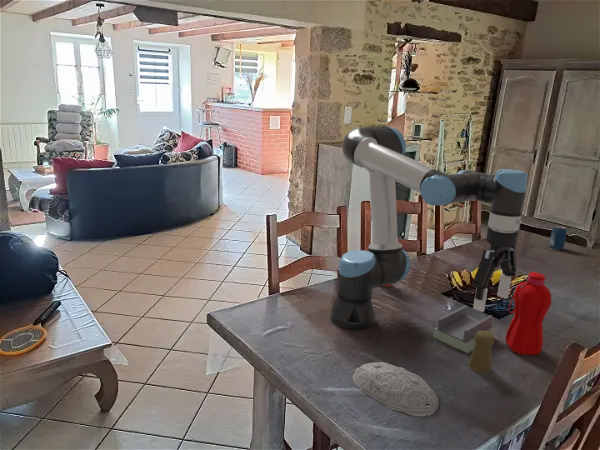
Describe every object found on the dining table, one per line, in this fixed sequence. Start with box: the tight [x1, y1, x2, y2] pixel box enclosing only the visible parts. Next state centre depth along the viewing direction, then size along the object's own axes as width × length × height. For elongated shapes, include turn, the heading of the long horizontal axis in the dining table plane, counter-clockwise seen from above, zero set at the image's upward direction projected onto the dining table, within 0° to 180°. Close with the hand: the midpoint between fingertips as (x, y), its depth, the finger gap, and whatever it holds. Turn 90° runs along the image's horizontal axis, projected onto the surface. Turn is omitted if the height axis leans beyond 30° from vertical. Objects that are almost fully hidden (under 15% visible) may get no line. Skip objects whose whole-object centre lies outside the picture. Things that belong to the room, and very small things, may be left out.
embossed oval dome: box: [352, 361, 440, 417], centre depth 119 cm, size 16×25×7 cm, turn 52°
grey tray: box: [432, 304, 495, 354], centre depth 145 cm, size 16×12×7 cm
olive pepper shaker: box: [468, 331, 495, 374], centre depth 129 cm, size 6×6×11 cm
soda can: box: [548, 224, 568, 251], centre depth 238 cm, size 7×7×12 cm
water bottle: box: [505, 271, 552, 356], centre depth 137 cm, size 9×11×25 cm
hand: (490, 303), depth 124 cm, fingers open, 13 cm apart
